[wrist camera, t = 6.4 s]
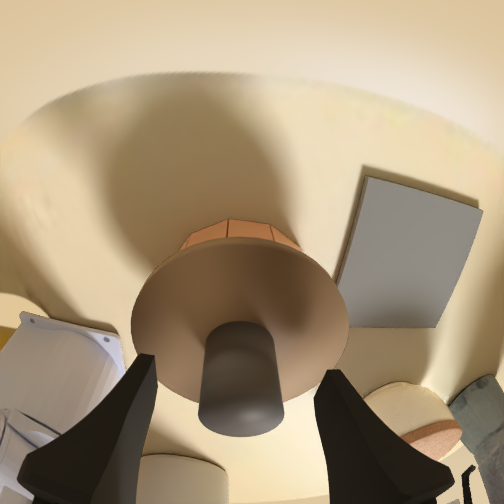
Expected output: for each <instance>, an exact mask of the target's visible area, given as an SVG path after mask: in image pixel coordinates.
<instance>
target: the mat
mask: <svg viewBox="0 0 504 504" xmlns="http://www.w3.org/2000/svg"><path fill="white" fill-rule="evenodd" d="M482 214H483V210H481V209H479V208H476V207H473V206H470V205H467V204H464V203H461V202H458V201H455V200H452V199H449V198H446V197H443V196H439V195H436V194H433V193H430V192H426V191H423V190H419V189H416V188H412V187H409V186H405V185H401V184H398V183H394V182H390V181H386V180H382V179H378V178H374V177H370V176H366V175H365V180H364V184H363V188H362V192H361V196H360V200H359V204H358V208H357V212H356V216H355V220H354V223H353V227H352V231H351V234H350V238H349V241H348V245H347V248H346V252H345V255H344V259H343V262H342V265H341V268H340V272H339V275H338V278H337V281H336V286H337V288H338V290H339V292H340V294H341V296H342V298H343V300H344V302H345V305H346V308H347V311H348V318H349V327H375V328H435V327H436V325H437V323H438V321H439V319H440V317H441V315H442V313H443V311H444V309H445V307H446V305H447V303H448V301H449V299H450V297H451V295H452V293H453V290H454V288H455V286H456V284H457V282H458V279H459V277H460V275H461V272H462V270H463V267H464V265H465V262H466V260H467V257H468V255H469V252H470V249H471V247H472V244H473V241H474V238H475V236H476V233H477V230H478V227H479V224H480V221H481V218H482Z"/></svg>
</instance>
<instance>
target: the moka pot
mask: <svg viewBox="0 0 504 504" xmlns="http://www.w3.org/2000/svg"><path fill="white" fill-rule="evenodd" d="M449 409H450V411H451V413H452V414H453V416H454V418H455V420H456V421H457V422H458V423H459V425H460V427H461V428H462V435H461V438H460V440H461V442H462V443H463V444H464V445H465V446H466V447H467V449H468V450H469V451H470V452H471V453H472V454H473V455H474V457H475V459H476V462H477V464H478V465H479V467H478V469H479V472H480V474H481V477H482V480H483V483H484V486H485V489H486V492H487V495H488V498H489V502H490V504H504V392H503V390H502V389H501V387H500V385H499V383H498V382H497V380H496V379H495V377H494V376H493V375H486V376H484V377H482V378H480V379H478V380H476V381H475V382H473V383H472V384H471V385H470V386H468V387H467V388H466V389H465V390H464V391H463V392H462V393H460V394H459V395H458V396H457V398H456V399H455V400H454V401H453V402H452V404H451V405H450V406H449ZM475 468H476V467H475V466H473V465H471V466H470V467H469V468H468V469H467V470H466V471H465V472H464V473H463V474H462V475H461V476H462V487H463V497H464V504H472V498H471V492H470V487H469V475H470V473H471V472H473V471H474V470H475Z"/></svg>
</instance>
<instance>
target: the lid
mask: <svg viewBox="0 0 504 504" xmlns="http://www.w3.org/2000/svg"><path fill="white" fill-rule="evenodd" d="M348 334H349V318H348V311H347V308H346V305H345V302H344V300H343V298H342V296H341V294H340V292H339V290H338V288H337V286H336V284H335V283H334V281H333V279H332V278H331V277H330V275H329V274H328V273H327V272H326V270H325V269H323V268H322V267H321V266H320V265H319V264H318V263H317V262H316V261H315V260H313V259H312V258H310V257H309V256H307V255H306V254H304V253H303V252H301V251H299V250H297V249H295V248H293V247H290V246H288V245H285V244H282V243H279V242H276V241H272V240H267V239H262V238H255V237H223V238H218V239H212V240H207V241H204V242H200V243H197V244H194V245H191V246H189V247H187V248H185V249H183V250H180V251H178V252H177V253H175V254H174V255H172V256H171V257H169V258H168V259H166V260H165V261H164V262H163V263H161V264H160V265H159V266H158V267H157V268H156V269H155V270H154V271H153V272H152V274H151V275H150V276H149V277H148V279H147V280H146V282H145V284H144V285H143V287H142V289H141V291H140V293H139V295H138V297H137V299H136V302H135V305H134V307H133V311H132V317H131V335H132V340H133V344H134V347H135V349H136V352H137V354H140V353H144V354H149V355H155V363H156V374H157V380H158V381H159V382H160V383H162V384H163V385H164V386H165V387H167V388H168V389H170V390H171V391H173V392H175V393H177V394H178V395H180V396H182V397H184V398H187V399H189V400H192V401H194V402H197V403H199V410H198V417H199V420H200V421H201V423H202V424H203V425H204V426H205V427H206V428H208V429H209V430H211V431H213V432H216V433H218V434H222V435H226V436H232V437H250V436H256V435H260V434H263V433H266V432H269V431H271V430H273V429H274V428H276V427H277V426H278V425H279V424H280V423H281V422H282V420H283V418H284V408H283V402H286V401H288V400H290V399H293V398H295V397H297V396H299V395H301V394H303V393H305V392H307V391H308V390H310V389H311V388H313V387H314V386H316V385H317V384H318V383H319V382H321V381H322V379H323V377H324V375H325V373H326V371H327V369H333V368H334V367H335V365H336V364H337V363H338V361H339V359H340V357H341V356H342V354H343V352H344V349H345V346H346V344H347V339H348Z"/></svg>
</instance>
